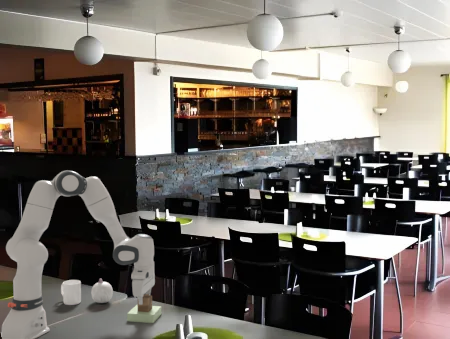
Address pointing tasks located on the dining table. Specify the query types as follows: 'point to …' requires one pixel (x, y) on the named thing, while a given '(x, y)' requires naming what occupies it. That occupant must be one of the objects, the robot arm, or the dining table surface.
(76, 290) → the cup
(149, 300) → the walnut block
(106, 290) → the ornament
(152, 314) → the base box
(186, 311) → the dining table surface
